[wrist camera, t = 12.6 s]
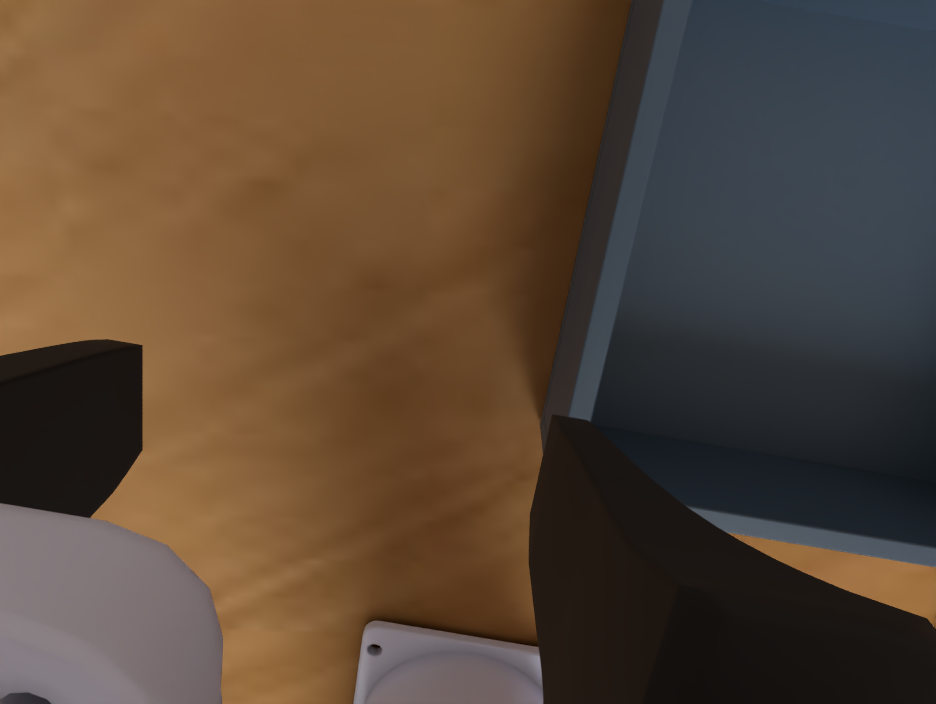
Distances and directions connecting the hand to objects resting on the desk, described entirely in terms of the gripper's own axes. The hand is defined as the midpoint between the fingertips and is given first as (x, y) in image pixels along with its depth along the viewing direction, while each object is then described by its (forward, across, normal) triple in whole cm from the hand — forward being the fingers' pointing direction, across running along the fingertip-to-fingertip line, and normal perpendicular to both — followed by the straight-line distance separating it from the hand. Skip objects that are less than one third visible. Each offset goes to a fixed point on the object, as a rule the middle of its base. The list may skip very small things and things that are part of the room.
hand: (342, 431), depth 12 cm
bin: (+9, -11, -3) cm, 15 cm away
